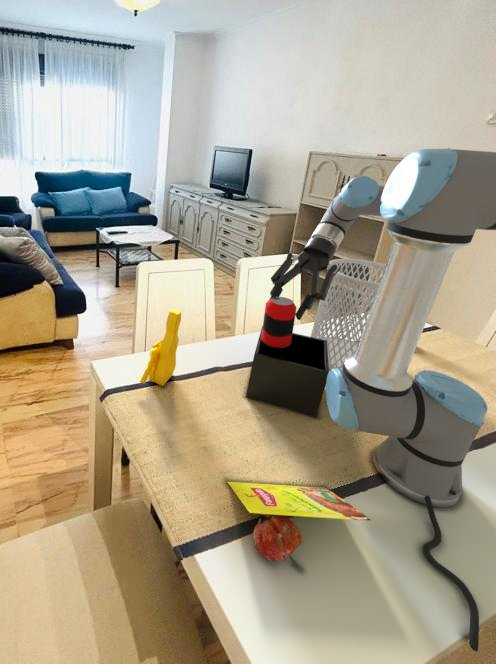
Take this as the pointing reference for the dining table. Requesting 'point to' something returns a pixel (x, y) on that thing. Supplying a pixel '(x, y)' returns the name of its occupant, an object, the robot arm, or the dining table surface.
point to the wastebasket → (342, 346)
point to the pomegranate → (276, 537)
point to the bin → (290, 374)
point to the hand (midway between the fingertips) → (283, 311)
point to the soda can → (278, 322)
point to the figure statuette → (164, 353)
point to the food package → (294, 501)
